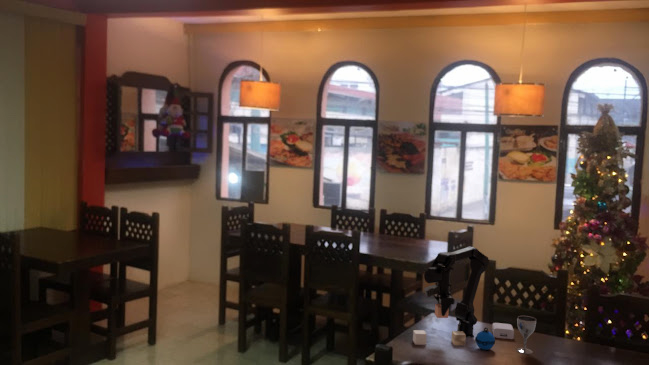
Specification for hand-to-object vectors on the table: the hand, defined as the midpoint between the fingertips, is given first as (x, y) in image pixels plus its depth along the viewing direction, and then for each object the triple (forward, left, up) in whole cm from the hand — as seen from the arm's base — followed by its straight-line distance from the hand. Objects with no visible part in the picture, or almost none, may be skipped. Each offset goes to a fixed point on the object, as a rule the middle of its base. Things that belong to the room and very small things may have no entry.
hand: (441, 313), depth 279 cm
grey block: (+10, +2, -13) cm, 17 cm away
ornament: (-18, +9, -13) cm, 24 cm away
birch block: (-8, +2, -13) cm, 15 cm away
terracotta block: (0, 0, -1) cm, 1 cm away
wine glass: (-36, +10, -13) cm, 40 cm away
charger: (-34, -13, -13) cm, 39 cm away
